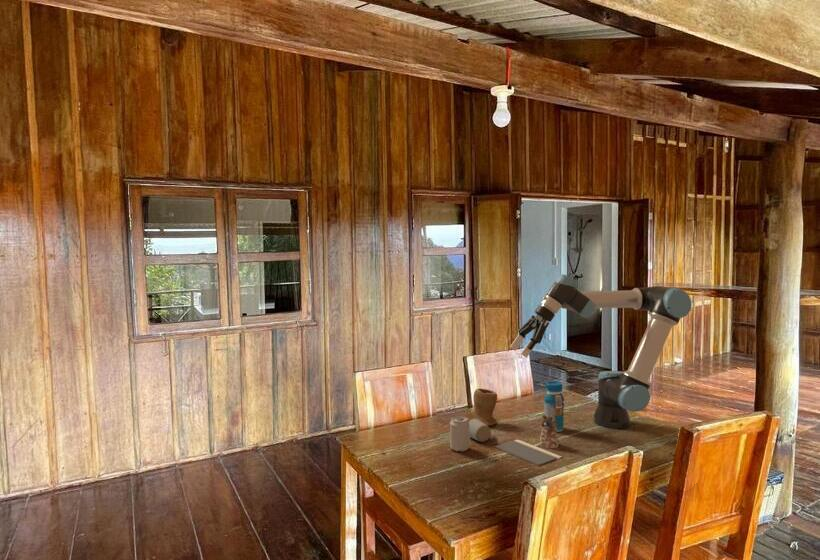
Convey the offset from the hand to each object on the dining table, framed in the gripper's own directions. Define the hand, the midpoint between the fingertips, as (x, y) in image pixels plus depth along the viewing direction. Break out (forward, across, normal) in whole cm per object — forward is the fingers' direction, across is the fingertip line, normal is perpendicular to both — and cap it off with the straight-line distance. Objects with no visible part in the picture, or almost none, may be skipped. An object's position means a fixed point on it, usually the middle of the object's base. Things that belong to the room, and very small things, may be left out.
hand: (517, 352), depth 216 cm
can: (+44, +7, 0) cm, 45 cm away
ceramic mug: (+38, -2, +9) cm, 39 cm away
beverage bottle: (+18, -9, +37) cm, 42 cm away
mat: (+30, +15, +19) cm, 39 cm away
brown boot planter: (+35, -22, +13) cm, 43 cm away
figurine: (+23, +8, +29) cm, 38 cm away
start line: (+27, +12, +24) cm, 38 cm away
